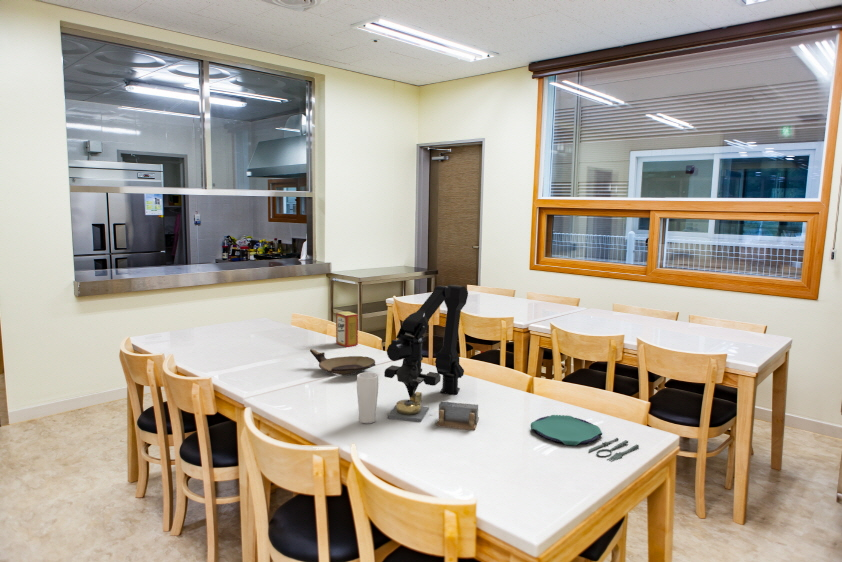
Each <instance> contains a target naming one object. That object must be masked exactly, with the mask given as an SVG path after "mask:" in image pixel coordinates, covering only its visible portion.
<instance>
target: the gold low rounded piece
mask: <svg viewBox="0 0 842 562" xmlns="http://www.w3.org/2000/svg"><path fill="white" fill-rule="evenodd" d="M422 395H423V393H422V392H420V391H415V393H414V394H413V395H412V396H411V397H409V399H401V400H399V401H397V402H396V405H397V407H396V410H397V412H398V413H401V414H406V415H412V414H417V413H419V412H420V411H421V406H422V401H423V400H422V399H423V398H422Z"/></svg>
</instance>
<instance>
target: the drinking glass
mask: <svg viewBox="0 0 842 562" xmlns="http://www.w3.org/2000/svg"><path fill="white" fill-rule="evenodd" d="M356 395H357V404H358V420H359V422H360V423H361V424H366V425H367V424H373V423H375V422H376V420H377V408H378V407H377V406H378V396H379V374H377V372H372V371H371V372H366V371H365V372H359V373H357V375H356Z"/></svg>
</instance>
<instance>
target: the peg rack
mask: <svg viewBox="0 0 842 562" xmlns="http://www.w3.org/2000/svg"><path fill="white" fill-rule="evenodd" d="M474 416H475V414H474V413H469V423H460V422H450V421H444V410H439V409H438V420H437V423H436V426H437V427H443V428H450V429H451V428H453V429H462V430H471V431H475V430H476V428H477V426H478V423H479V420H480V417H479V416H478V421H477V424H474Z"/></svg>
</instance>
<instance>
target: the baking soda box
mask: <svg viewBox="0 0 842 562" xmlns="http://www.w3.org/2000/svg"><path fill="white" fill-rule="evenodd" d="M358 315H359V314H358V313H356V312H355V313H354V312H352V311H347V310H346V311H341V312H339V311H338V312H336V313H335V337H336V338H335V341H336V342H335V344H336V345H339V346H341V347H344V348H352V347H357V346H356V345H359V337H358V336H359V335H358V333H359V328H358V327H359V323H358V322H359V316H358Z"/></svg>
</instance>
